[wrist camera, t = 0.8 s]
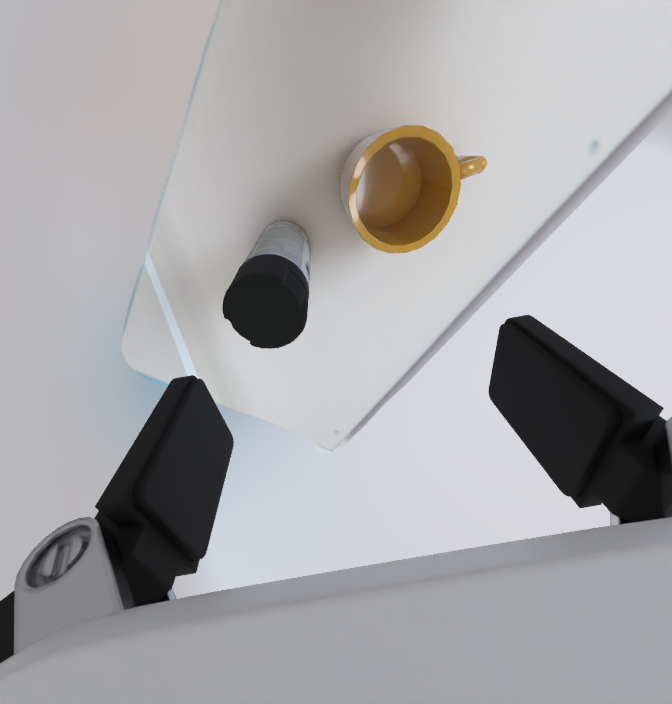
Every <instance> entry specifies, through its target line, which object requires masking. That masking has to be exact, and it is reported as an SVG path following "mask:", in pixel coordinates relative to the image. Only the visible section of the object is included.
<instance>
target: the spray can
mask: <svg viewBox="0 0 672 704" xmlns="http://www.w3.org/2000/svg"><path fill="white" fill-rule="evenodd" d="M309 276H310V243H309V239H308V237H307V235H306V234H305V232H304V231H303V230H302V229H301V228H300V227H299V226H297V225H296V224H294V223H292V222H287V221H279V222H275V223H273V224H271V225H269V226H268V227H267V228H266V229H265V230H264V231H263V233H262V234H261V236H260V238H259V239H258V241H257V242H256V244H255V245H254V247H253V249H252V250H251V252H250V253H249V255H248V257H247V258H246V260H245V261H244V263H243V264H242V266H241V267H240V268H239V270H238V272H237V274H236V276H235V278H234V280H233V281H232V283H231V285H230V287H229V288H228V290H227V291H226V294H225V296H224V300H223V314H224V317H225V319H228V320H229V321H230V322H231V324H232V326H233V328H234V329H235V330H236V331H237V332H238V333H239V334H240V335H241V336H242V337H244V338H246V339H247V340H249V341H250V344H251V345H252V346H255V347H259V348H279V347H282V346H285V345H287V344H289V343H291V342H292V341H294V340H295V339H296V338H297V337H298V336H299V335H300V334H301V333H302V331H303V329H304V327H305V324H306V320H307V310H308V298H309V280H310V278H309Z"/></svg>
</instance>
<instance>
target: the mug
mask: <svg viewBox="0 0 672 704" xmlns="http://www.w3.org/2000/svg"><path fill="white" fill-rule="evenodd" d="M486 165H487V161H486V159H485V158H484V157H482V156H462V155H455V153H454V150H453V148H452V147H451V145H450V144H449V143H448V142H447V141H446V140H445V139H444V138H443V137H442V136H441V134H439V133H437V132H435V131H433V130H431V129H429V128H426V127H424V126H405V125H404V126H400V127H396V128H392V129H388V130H384V131H380V132H378V133H375V134H372V135H370V136H368V137H366V138H365V139H363V140H362V141H361V142H360V143H358V144H357V145H356V146H355V148H354V149H353V150H352V151H351V153H350V154H349V156H348V158H347V159H346V161H345V164H344V166H343V169H342V173H341V179H340V194H341V199H342V203H343V206H344V209H345V211H346V213H347V214H348V216H349V218H350V220H351V221H352V223H353V225H354V227H355V228H356V230H357V231H358V233H359V234H360V236H361V237H362V238H363V239H364V240H365V241H366V242H367V243H369V244H370V245H371V246H372V247H374V248H376V249H379V250H382V251H385V252H388V253H406V252H409V251H412V250H415V249H418V248H421V247H422V246H424V245H425V244H427V243H428V242H430V241H431V240H433V239H434V238H435V237H436V236H437V235H438V234H439V233H440V232H441V230H442V229H443V228H444V227H445V226H446V225H447V223H448V222H449V220H450V218H451V216H452V214H453V212H454V210H455V208H456V205H457V201H458V196H459V191H460V186H461V182H460V180H461V179H464V178H467V177H469V176H472V175H475V174H478V173H480V172H482V171H483V170H484V169H485V168H486Z"/></svg>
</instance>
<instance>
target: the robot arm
mask: <svg viewBox="0 0 672 704" xmlns="http://www.w3.org/2000/svg"><path fill="white" fill-rule="evenodd" d="M489 396H490V399H491V400H492V402H493V403H494V405H495V406H496V407H497V408H498V410H499V411H500V412H501V414H502V415H503V416H504V418H505V419H506V420H507V422H508V423H509V424H510V425H511V427H512V428H513V429H514V431H515V432H516V433H517V435H518V436H519V437H520V438H521V440H522V441H523V442H524V444H525V445H526V446H527V448H528V449H529V450H530V452H531V453H532V454H533V455H534V457H535V458H536V459H537V461H538V462H539V463H540V465H541V466H542V467H543V468H544V470H545V471H546V472H547V474H548V475H549V476H550V478H551V479H552V480H553V481H554V483H555V484H556V485H557V487H558V488H559V489H560V490H561V491H562V492H563V494H565V495H566V496H571V498H572V499H573V500H574V501H575V502H576V504H577V505H578V506H579V508H584V507H589V506H596V505H601V503H603V504H604V505H605V506H606V507H607V508H608V510H609V511H610V526H606V527H599V528H593V529H588V530H580V531H574V532H568V533H562V534H557V535H550V536H543V537H537V538H531V539H525V540H519V541H513V542H507V543H501V544H494V545H488V546H482V547H476V548H470V549H464V550H458V551H452V552H446V553H440V554H434V555H428V556H422V557H416V558H410V559H404V560H398V561H392V562H386V563H380V564H374V565H368V566H362V567H356V568H350V569H345V570H338V571H332V572H327V573H321V574H315V575H309V576H303V577H298V578H292V579H287V580H280V581H274V582H269V583H263V584H257V585H251V586H246V587H240V588H234V589H228V590H222V591H217V592H211V593H206V594H201V595H196V596H190V597H186V598H180V599H176V597H175V594H174V592H173V589H172V586H173V583H174V580H175V577H176V576H181V575H187V574H193V573H196V571H197V567H198V563H199V560H200V559H202V558H203V557H204V556H205V554H206V551H207V547H208V544H209V540H210V536H211V532H212V528H213V524H214V520H215V516H216V512H217V508H218V504H219V500H220V496H221V492H222V488H223V484H224V481H225V477H226V472H227V469H228V465H229V461H230V457H231V453H232V449H233V437H232V434H231V432H230V430H229V429H228V427H227V425H226V423H225V421H224V419H223V417H222V415H221V414H220V412H219V410H218V408H217V406H216V404H215V402H214V400H213V398H212V396H211V395H210V393H209V391H208V389H207V387H206V385H205V383H204V382H203V380H202V379H197V378H196V377H195V376H193V375H191V376H186V377H180V378H175V379H173V380H172V381H171V382H170V384H169V386H168V387H167V389H166V391H165V392H164V394H163V395H162V397H161V399H160V401H159V402H158V404H157V405H156V407H155V409H154V410H153V412H152V414H151V415H150V417H149V419H148V420H147V422H146V423H145V425H144V427H143V428H142V430H141V432H140V433H139V435H138V437H137V438H136V440H135V442H134V444H133V445H132V447H131V448H130V450H129V451H128V453H127V455H126V456H125V458H124V460H123V461H122V463H121V465H120V466H119V468H118V470H117V471H116V473H115V475H114V476H113V478H112V479H111V481H110V483H109V484H108V486H107V488H106V489H105V491H104V493H103V495H102V496H101V498H100V499H99V501H98V503H97V504H96V506H95V507H96V508H97V509H98V510H99V512H98V514H97V515H96V517H95V518H94V519H93V518H90V517H86V518H78V519H76V520H73V521H70V522H68V523H66V524H65V525H63V526H61V527H59V528H58V529H56V530H55V531H53V532H52V533H51V534H49V535H48V536H47V537H46V538H44V539H43V540H42V541H41V542H40V543H39V544H38V545H37V546H36V547H35V548H34V549H33V551H32V552H31V553H30V554H29V556H28V557H27V558H26V560H25V561H24V562H23V564H22V566H21V568H20V570H19V572H18V574H17V577H16V582H15V590H14V591H13V592H12V593H10V594H9V595H8V596H7V597H5V598H4V599H3V600H1V601H0V704H672V417H671V418H670V419H669V420H667V421H666V420H664V419H663V418H661V417H660V416H659V414H660V413H661V411H662V410H663V407H661V406H660V405H658V404H657V403H656V402H654V401H653V400H651V399H650V398H648V397H647V396H646V395H644V394H643V393H641V392H639V391H638V390H637V389H635V388H634V387H632V386H631V385H630V384H628V383H627V382H625V381H624V380H623V379H621V378H620V377H618V376H617V375H615V374H614V373H612V372H611V371H610V370H608V369H607V368H605V367H604V366H602V365H601V364H600V363H598V362H597V361H595V360H594V359H592V358H591V357H590V356H588V355H587V354H585V353H584V352H582V351H581V350H579V349H578V348H577V347H575V346H574V345H572V344H571V343H569V342H568V341H567V340H565V339H564V338H562V337H561V336H559V335H558V334H556V333H555V332H554V331H552V330H551V329H549V328H548V327H546V326H545V325H544V324H542V323H541V322H539V321H538V320H536V319H535V318H534V317H532V316H530V315H525V316H519V317H514V318H509V319H507V320H506V322H505V324H503V325H501V326H500V329H499V335H498V340H497V346H496V351H495V357H494V363H493V368H492V374H491V380H490V385H489Z"/></svg>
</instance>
